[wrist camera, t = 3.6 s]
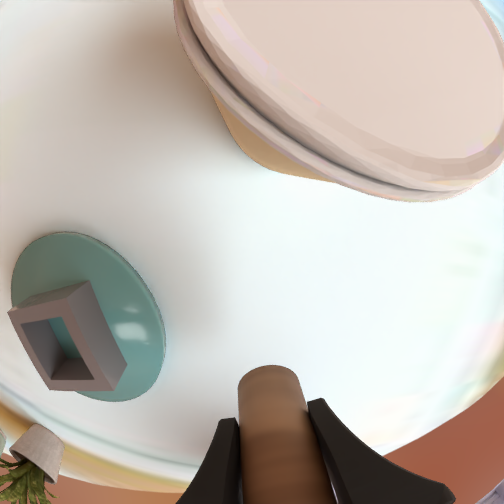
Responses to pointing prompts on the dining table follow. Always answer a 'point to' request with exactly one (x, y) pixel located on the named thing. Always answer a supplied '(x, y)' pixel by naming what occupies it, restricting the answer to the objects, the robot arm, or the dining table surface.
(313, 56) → the coffee cup
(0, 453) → the disposable coffee cup
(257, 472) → the walnut peg
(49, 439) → the house plant
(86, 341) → the candle dish
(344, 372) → the dining table surface
